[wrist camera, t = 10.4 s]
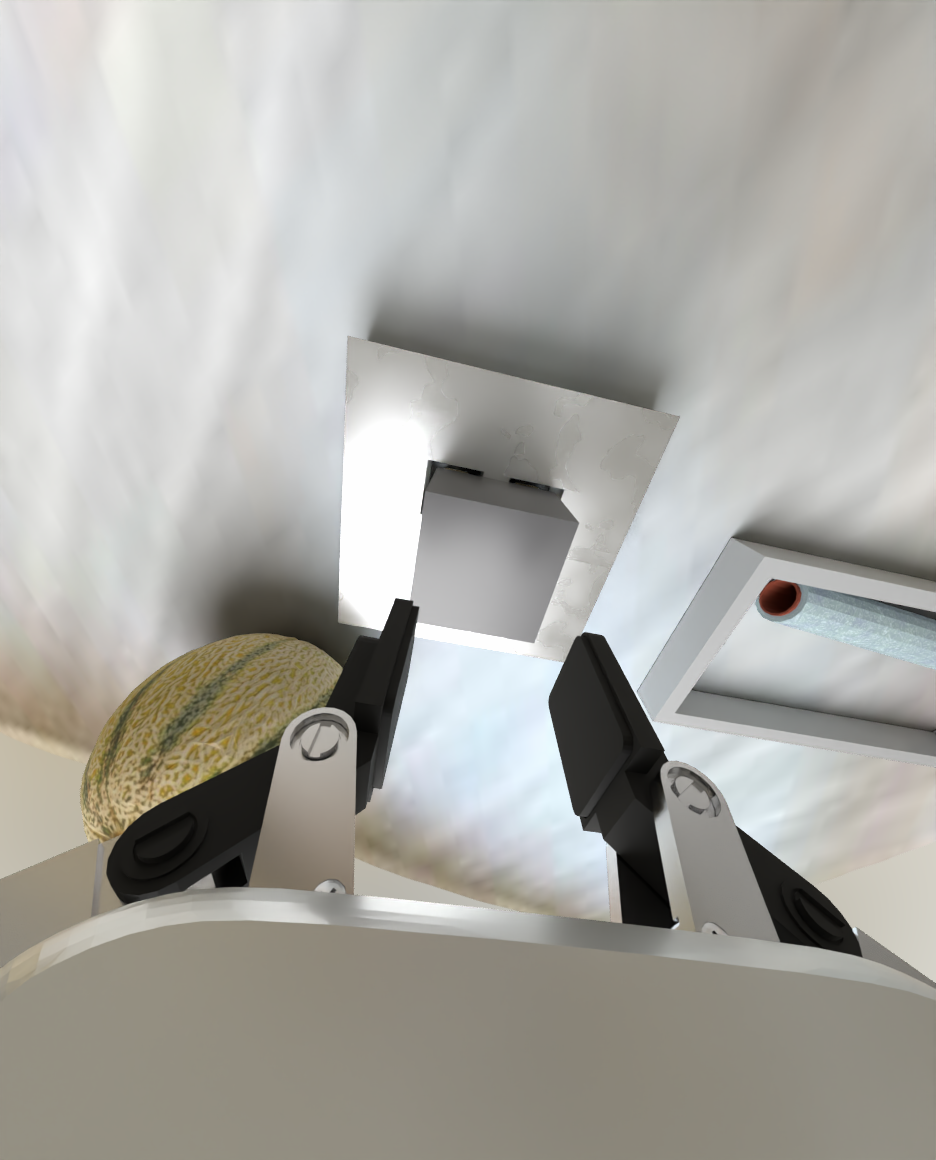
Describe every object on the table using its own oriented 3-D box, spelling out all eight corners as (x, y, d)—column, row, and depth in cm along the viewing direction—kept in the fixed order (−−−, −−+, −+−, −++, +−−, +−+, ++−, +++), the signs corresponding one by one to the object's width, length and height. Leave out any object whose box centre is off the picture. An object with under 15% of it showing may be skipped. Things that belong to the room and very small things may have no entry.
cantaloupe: (355, 746, 34) (279, 974, 21) (197, 696, 31) (-11, 924, 18) (414, 639, 27) (358, 870, 14) (222, 562, 24) (-76, 762, 11)
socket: (366, 344, 18) (347, 335, 15) (651, 413, 19) (679, 416, 17) (351, 599, 26) (337, 622, 23) (558, 636, 27) (568, 663, 24)
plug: (441, 457, 21) (425, 491, 14) (544, 479, 21) (579, 522, 14) (426, 553, 24) (406, 621, 17) (516, 570, 24) (534, 643, 17)
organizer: (731, 537, 23) (764, 556, 20) (1097, 616, 25) (1170, 642, 23) (636, 691, 30) (652, 721, 27) (933, 742, 32) (974, 773, 29)
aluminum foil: (744, 603, 26) (779, 631, 23) (810, 521, 23) (862, 540, 20) (978, 673, 29) (1037, 706, 26) (1065, 609, 26) (1143, 637, 23)
